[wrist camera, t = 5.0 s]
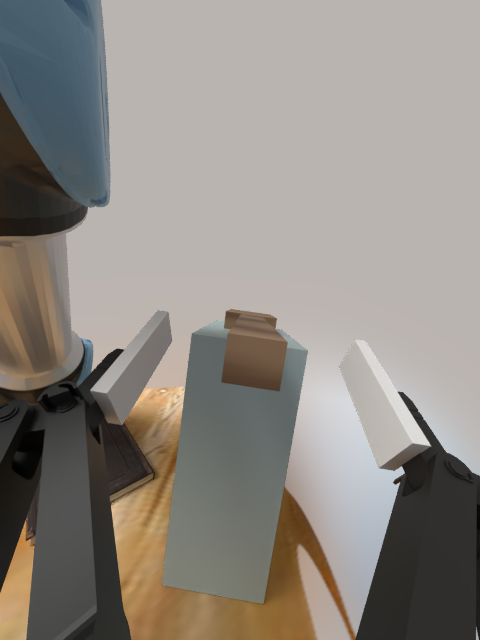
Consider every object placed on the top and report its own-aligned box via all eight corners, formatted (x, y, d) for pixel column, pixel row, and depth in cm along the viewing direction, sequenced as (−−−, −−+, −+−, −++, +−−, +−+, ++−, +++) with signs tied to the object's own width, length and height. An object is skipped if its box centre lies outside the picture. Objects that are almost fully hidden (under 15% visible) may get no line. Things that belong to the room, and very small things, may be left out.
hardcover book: (25, 555, 24) (25, 538, 24) (26, 445, 40) (27, 434, 40) (154, 481, 36) (155, 470, 36) (116, 418, 52) (117, 410, 52)
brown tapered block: (324, 398, 9) (333, 348, 9) (177, 375, 9) (183, 326, 9) (267, 327, 36) (269, 314, 36) (229, 322, 36) (231, 309, 36)
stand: (263, 604, 23) (307, 350, 20) (161, 585, 23) (191, 333, 20) (257, 480, 39) (281, 329, 36) (196, 470, 39) (216, 320, 36)
